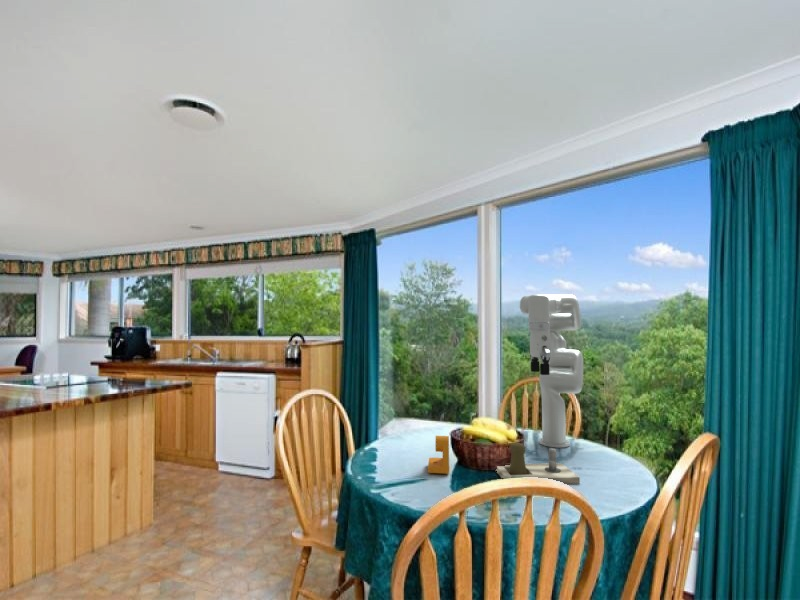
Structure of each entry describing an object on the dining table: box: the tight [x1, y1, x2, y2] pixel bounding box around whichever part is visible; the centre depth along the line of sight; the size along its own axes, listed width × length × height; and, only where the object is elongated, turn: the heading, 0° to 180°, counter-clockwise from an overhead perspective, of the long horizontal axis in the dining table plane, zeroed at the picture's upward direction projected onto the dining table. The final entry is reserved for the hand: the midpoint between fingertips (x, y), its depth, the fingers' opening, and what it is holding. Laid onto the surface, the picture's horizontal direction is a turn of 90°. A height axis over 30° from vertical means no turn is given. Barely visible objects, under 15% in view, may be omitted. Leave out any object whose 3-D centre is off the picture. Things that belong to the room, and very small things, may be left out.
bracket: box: [427, 435, 450, 474], centre depth 153 cm, size 11×7×12 cm, turn 174°
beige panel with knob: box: [495, 447, 581, 485], centre depth 146 cm, size 14×24×9 cm, turn 92°
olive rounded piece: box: [509, 442, 527, 475], centre depth 147 cm, size 6×6×11 cm
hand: (539, 373), depth 161 cm, fingers open, 9 cm apart
